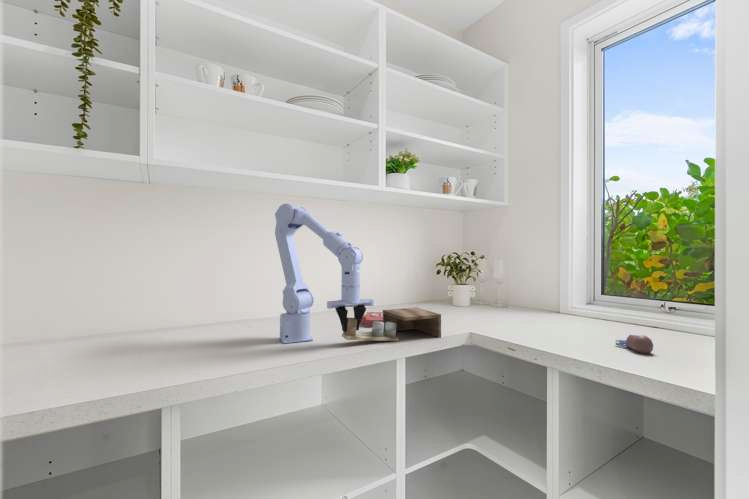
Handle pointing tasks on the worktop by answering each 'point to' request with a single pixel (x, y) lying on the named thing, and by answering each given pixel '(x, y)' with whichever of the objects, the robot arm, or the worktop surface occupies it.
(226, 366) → the worktop surface
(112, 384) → the worktop surface
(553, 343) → the worktop surface
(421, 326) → the wooden crate block
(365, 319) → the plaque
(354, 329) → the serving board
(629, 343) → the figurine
